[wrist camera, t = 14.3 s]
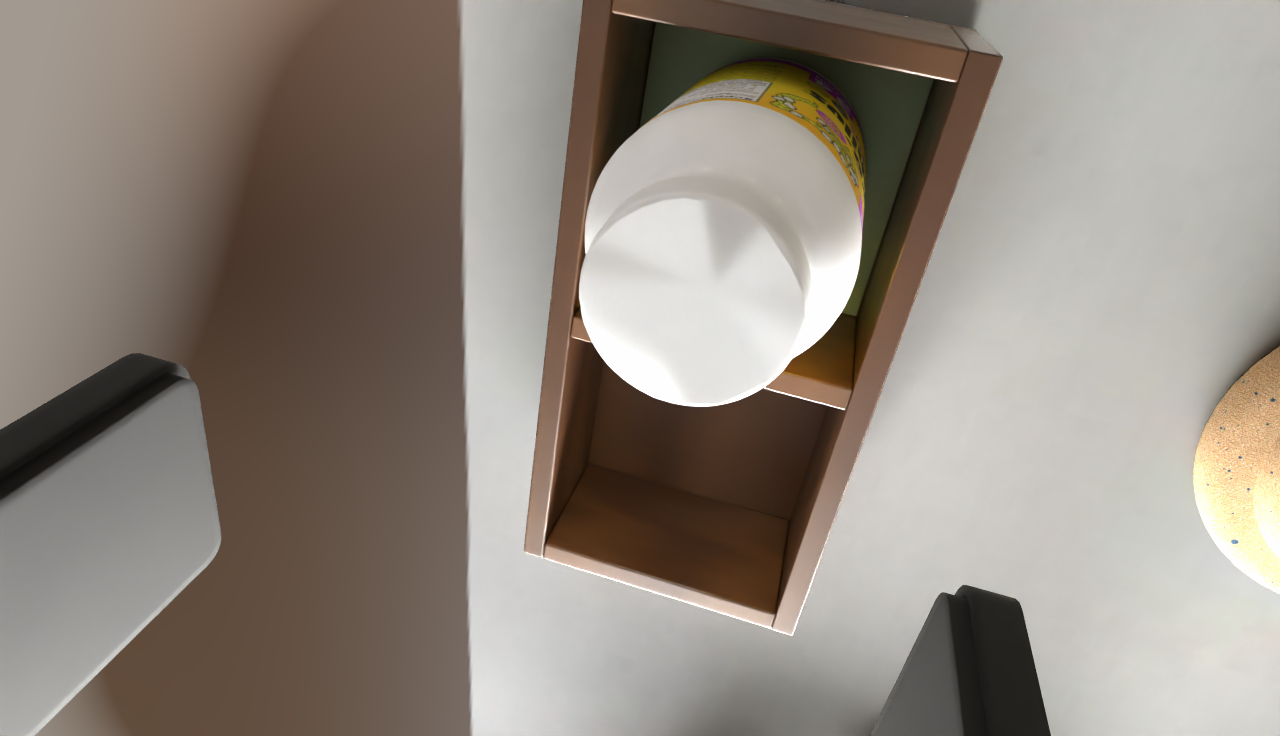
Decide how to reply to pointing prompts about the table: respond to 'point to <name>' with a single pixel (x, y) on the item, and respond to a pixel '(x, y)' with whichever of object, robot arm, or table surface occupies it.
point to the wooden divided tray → (813, 380)
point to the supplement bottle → (726, 233)
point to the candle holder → (1244, 473)
